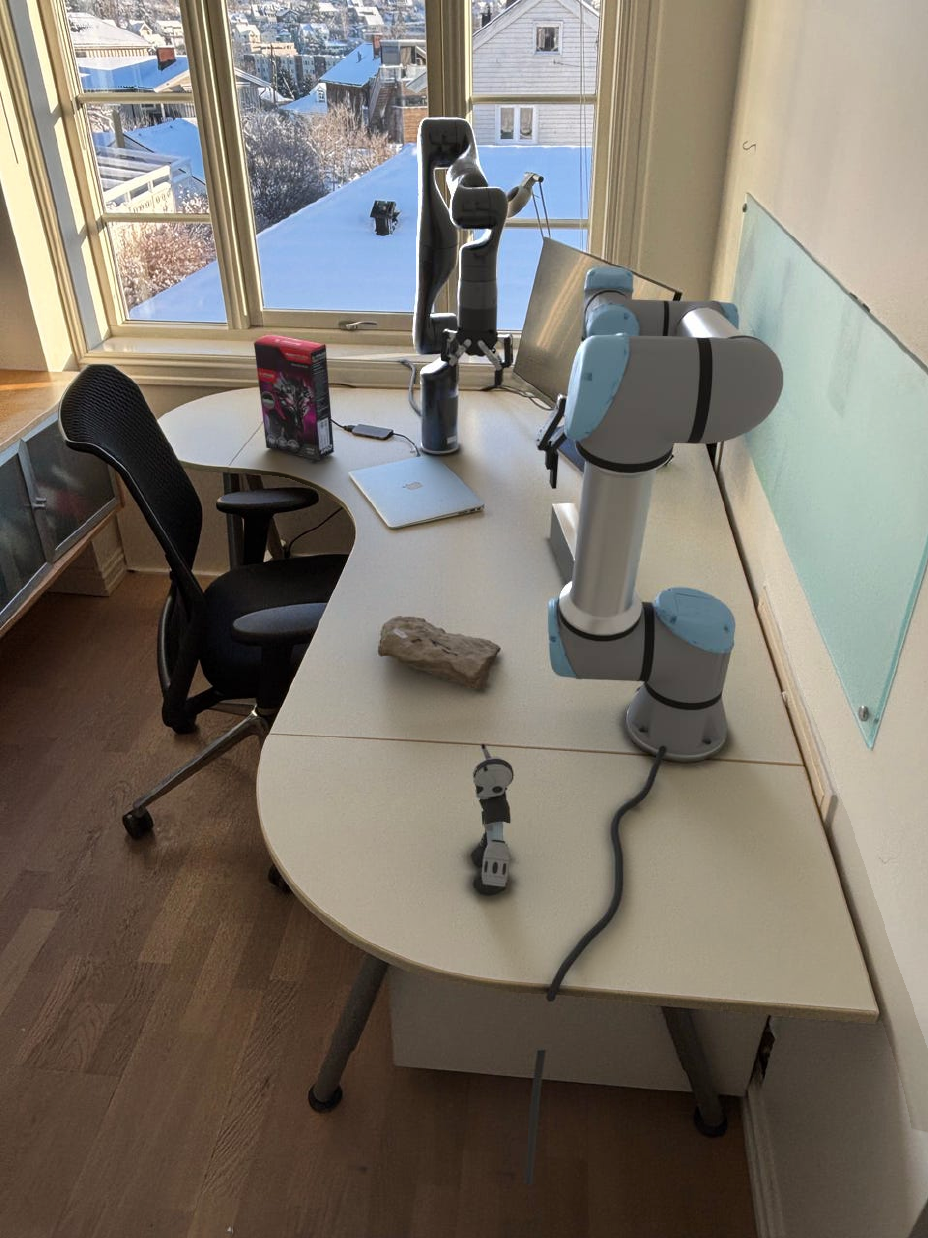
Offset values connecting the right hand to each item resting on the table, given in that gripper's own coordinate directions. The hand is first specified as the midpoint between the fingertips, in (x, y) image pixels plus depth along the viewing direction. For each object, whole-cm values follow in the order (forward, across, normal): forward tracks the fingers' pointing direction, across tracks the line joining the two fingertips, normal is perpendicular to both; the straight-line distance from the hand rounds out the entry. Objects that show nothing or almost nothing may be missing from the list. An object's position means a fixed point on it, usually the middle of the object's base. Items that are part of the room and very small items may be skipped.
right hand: (590, 484), depth 164 cm
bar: (+23, 0, -8) cm, 24 cm away
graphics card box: (+23, +57, -71) cm, 94 cm away
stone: (+23, +30, +21) cm, 43 cm away
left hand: (-8, +17, -31) cm, 37 cm away
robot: (+23, +26, +66) cm, 74 cm away
